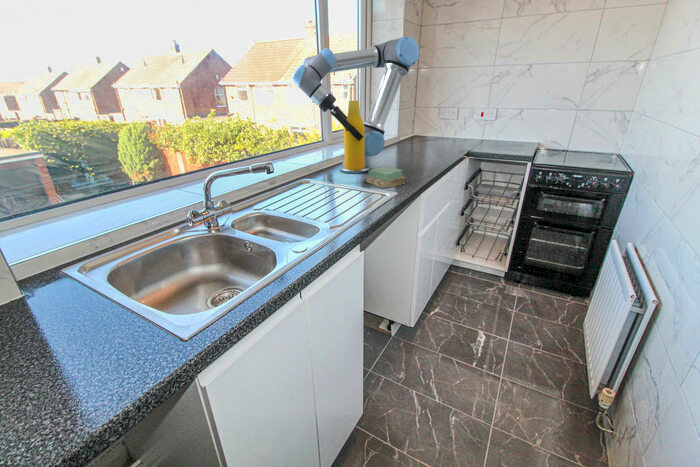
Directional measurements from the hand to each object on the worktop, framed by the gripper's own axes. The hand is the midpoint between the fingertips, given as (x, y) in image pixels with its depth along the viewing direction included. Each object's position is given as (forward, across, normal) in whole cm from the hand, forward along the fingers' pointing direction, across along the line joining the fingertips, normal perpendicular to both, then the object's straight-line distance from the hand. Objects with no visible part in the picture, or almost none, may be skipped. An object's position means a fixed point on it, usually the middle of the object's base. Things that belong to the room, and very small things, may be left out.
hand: (361, 137), depth 145 cm
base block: (+22, 0, -7) cm, 23 cm away
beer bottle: (+8, 0, -12) cm, 14 cm away
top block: (+20, 0, -5) cm, 21 cm away
